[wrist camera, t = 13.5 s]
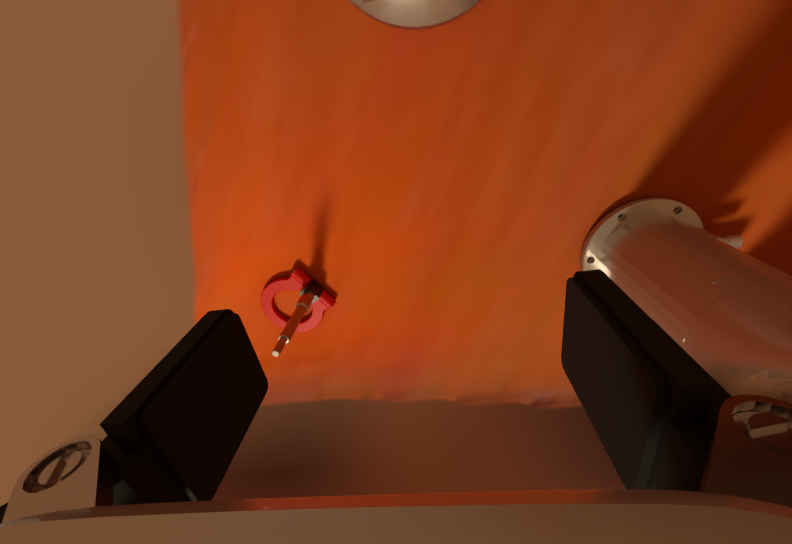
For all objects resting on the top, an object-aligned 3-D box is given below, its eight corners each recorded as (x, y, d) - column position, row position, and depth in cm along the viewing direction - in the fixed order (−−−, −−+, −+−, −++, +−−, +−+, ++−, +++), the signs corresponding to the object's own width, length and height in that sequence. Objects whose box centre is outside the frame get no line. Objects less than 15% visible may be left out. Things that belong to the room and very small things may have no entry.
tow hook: (299, 336, 50) (342, 303, 46) (259, 412, 38) (313, 375, 35) (252, 298, 47) (294, 259, 43) (195, 367, 36) (245, 322, 32)
